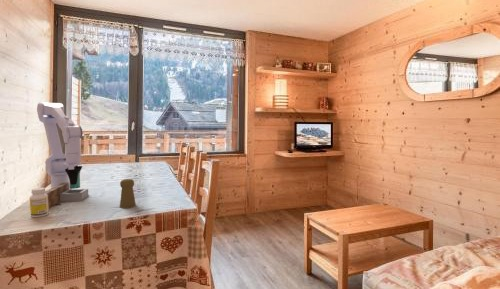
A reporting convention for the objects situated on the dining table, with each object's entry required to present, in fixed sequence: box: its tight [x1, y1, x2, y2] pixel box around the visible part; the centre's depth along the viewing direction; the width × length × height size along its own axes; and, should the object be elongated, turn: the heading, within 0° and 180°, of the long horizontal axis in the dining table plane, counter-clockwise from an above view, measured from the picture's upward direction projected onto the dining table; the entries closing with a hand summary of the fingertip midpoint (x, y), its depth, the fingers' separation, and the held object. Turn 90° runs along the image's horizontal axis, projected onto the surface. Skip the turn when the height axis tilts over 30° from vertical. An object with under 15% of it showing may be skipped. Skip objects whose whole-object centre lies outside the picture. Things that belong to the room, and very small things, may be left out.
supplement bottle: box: [29, 187, 50, 218], centre depth 106 cm, size 5×5×10 cm
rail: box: [45, 183, 69, 209], centre depth 124 cm, size 22×2×6 cm, turn 12°
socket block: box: [59, 188, 89, 202], centre depth 130 cm, size 9×9×4 cm
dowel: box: [70, 171, 81, 189], centre depth 130 cm, size 4×4×7 cm
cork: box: [119, 178, 137, 209], centre depth 118 cm, size 6×6×11 cm
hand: (74, 183), depth 130 cm, fingers closed on dowel, 4 cm apart
